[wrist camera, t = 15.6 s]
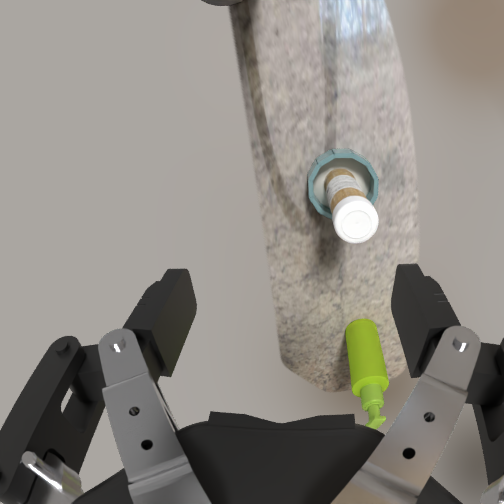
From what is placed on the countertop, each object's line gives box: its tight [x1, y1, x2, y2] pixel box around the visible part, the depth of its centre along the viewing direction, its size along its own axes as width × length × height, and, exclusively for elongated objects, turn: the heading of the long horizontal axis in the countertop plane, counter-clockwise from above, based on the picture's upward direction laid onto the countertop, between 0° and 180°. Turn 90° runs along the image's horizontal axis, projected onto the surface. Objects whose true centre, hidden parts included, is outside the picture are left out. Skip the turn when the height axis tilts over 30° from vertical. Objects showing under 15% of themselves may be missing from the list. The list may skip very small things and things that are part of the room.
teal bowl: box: [307, 149, 379, 219], centre depth 40 cm, size 9×9×3 cm
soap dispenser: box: [345, 319, 389, 430], centre depth 45 cm, size 6×7×20 cm
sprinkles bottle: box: [324, 169, 378, 244], centre depth 35 cm, size 5×5×14 cm
